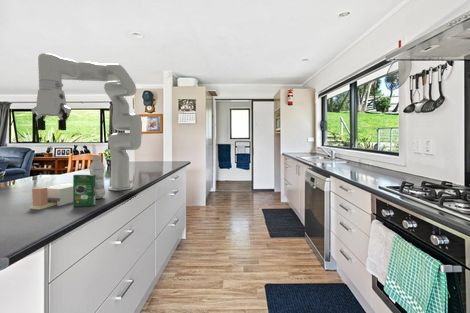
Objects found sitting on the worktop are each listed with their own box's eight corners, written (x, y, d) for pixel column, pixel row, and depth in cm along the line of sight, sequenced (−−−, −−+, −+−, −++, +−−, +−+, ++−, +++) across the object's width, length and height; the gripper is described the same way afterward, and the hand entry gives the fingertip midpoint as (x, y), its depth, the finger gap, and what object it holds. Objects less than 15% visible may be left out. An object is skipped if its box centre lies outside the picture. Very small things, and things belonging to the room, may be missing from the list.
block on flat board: (67, 199, 127) (67, 182, 126) (76, 199, 126) (75, 182, 125) (30, 208, 108) (29, 188, 108) (39, 209, 107) (38, 189, 107)
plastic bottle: (86, 199, 126) (85, 156, 125) (97, 196, 132) (96, 155, 131) (97, 200, 124) (96, 156, 123) (108, 197, 130) (107, 155, 129)
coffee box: (96, 204, 116) (95, 174, 115) (94, 206, 113) (93, 174, 112) (75, 205, 114) (74, 174, 114) (73, 207, 111) (72, 175, 111)
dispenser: (66, 198, 129) (65, 183, 129) (84, 198, 127) (84, 184, 127) (38, 205, 115) (37, 188, 114) (58, 206, 113) (58, 189, 112)
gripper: (76, 87, 110) (77, 130, 111) (40, 89, 113) (41, 130, 114) (61, 84, 103) (63, 129, 104) (23, 85, 106) (24, 129, 107)
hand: (51, 130), depth 109 cm, fingers open, 9 cm apart
